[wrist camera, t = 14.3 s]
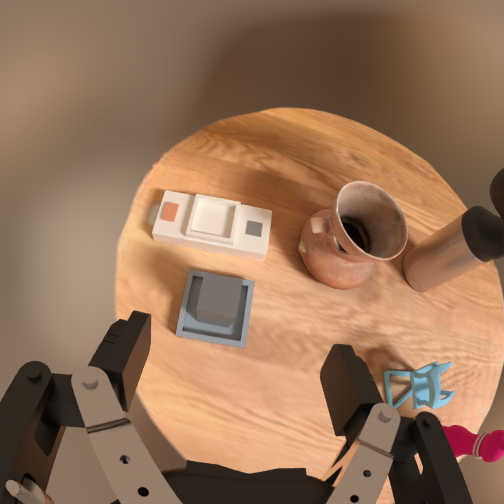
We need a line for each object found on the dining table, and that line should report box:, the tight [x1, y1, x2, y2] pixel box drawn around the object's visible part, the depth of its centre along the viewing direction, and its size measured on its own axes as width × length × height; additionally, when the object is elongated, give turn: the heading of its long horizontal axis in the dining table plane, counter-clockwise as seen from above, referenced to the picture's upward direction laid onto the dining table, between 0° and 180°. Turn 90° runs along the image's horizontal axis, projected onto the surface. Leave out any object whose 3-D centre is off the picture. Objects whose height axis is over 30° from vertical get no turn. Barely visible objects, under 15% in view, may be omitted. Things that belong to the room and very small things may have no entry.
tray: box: [176, 269, 255, 348], centre depth 42 cm, size 10×10×2 cm
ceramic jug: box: [298, 181, 408, 290], centre depth 43 cm, size 18×14×14 cm
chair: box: [383, 362, 455, 409], centre depth 37 cm, size 8×8×12 cm
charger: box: [196, 272, 243, 328], centre depth 37 cm, size 5×5×10 cm
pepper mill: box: [442, 425, 504, 462], centre depth 29 cm, size 7×7×20 cm
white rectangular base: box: [152, 191, 272, 262], centre depth 45 cm, size 18×8×4 cm, turn 82°
